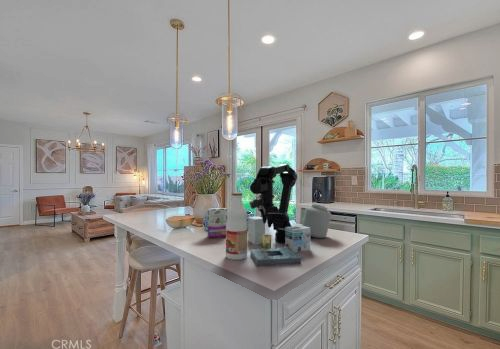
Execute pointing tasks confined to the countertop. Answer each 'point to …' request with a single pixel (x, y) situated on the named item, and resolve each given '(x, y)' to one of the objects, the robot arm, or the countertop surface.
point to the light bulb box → (297, 238)
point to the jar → (317, 220)
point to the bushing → (266, 241)
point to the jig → (275, 256)
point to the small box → (255, 230)
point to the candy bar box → (217, 222)
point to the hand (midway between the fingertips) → (266, 225)
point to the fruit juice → (236, 229)
